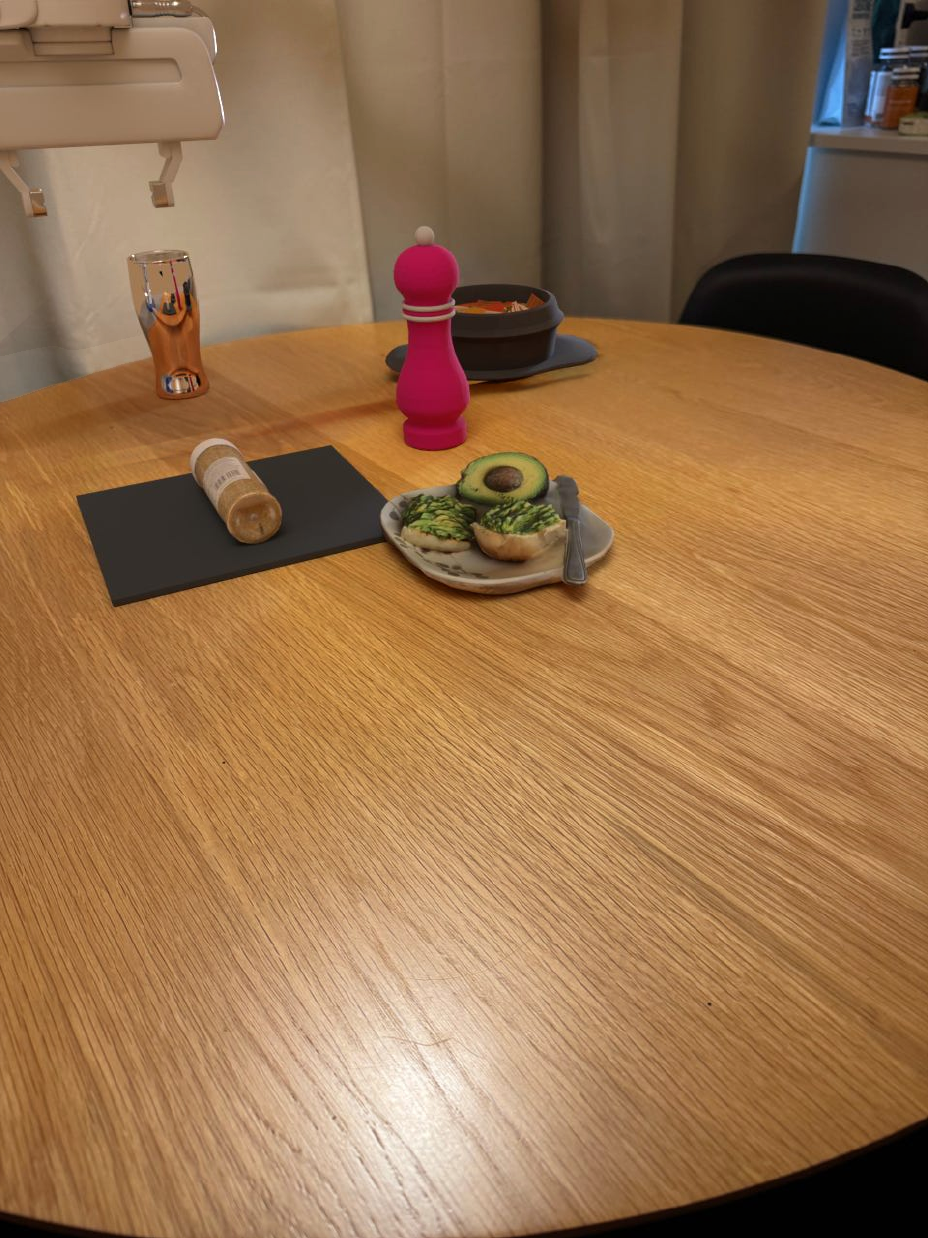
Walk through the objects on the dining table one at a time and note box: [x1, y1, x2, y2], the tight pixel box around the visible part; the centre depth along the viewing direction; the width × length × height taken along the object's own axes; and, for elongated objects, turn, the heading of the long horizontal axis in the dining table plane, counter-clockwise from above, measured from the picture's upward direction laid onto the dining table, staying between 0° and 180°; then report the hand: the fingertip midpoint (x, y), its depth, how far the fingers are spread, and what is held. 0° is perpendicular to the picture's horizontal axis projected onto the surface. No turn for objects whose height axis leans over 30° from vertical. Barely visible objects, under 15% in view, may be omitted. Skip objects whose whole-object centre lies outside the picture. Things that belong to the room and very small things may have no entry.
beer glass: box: [126, 249, 211, 400], centre depth 109 cm, size 7×7×15 cm
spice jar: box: [189, 437, 282, 544], centre depth 81 cm, size 5×5×14 cm
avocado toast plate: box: [380, 451, 615, 595], centre depth 75 cm, size 19×18×5 cm
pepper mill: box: [393, 225, 471, 451], centre depth 92 cm, size 7×7×20 cm
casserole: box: [384, 283, 598, 385], centre depth 113 cm, size 25×19×8 cm
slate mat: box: [75, 444, 389, 607], centre depth 83 cm, size 24×21×1 cm
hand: (101, 211), depth 75 cm, fingers open, 8 cm apart
